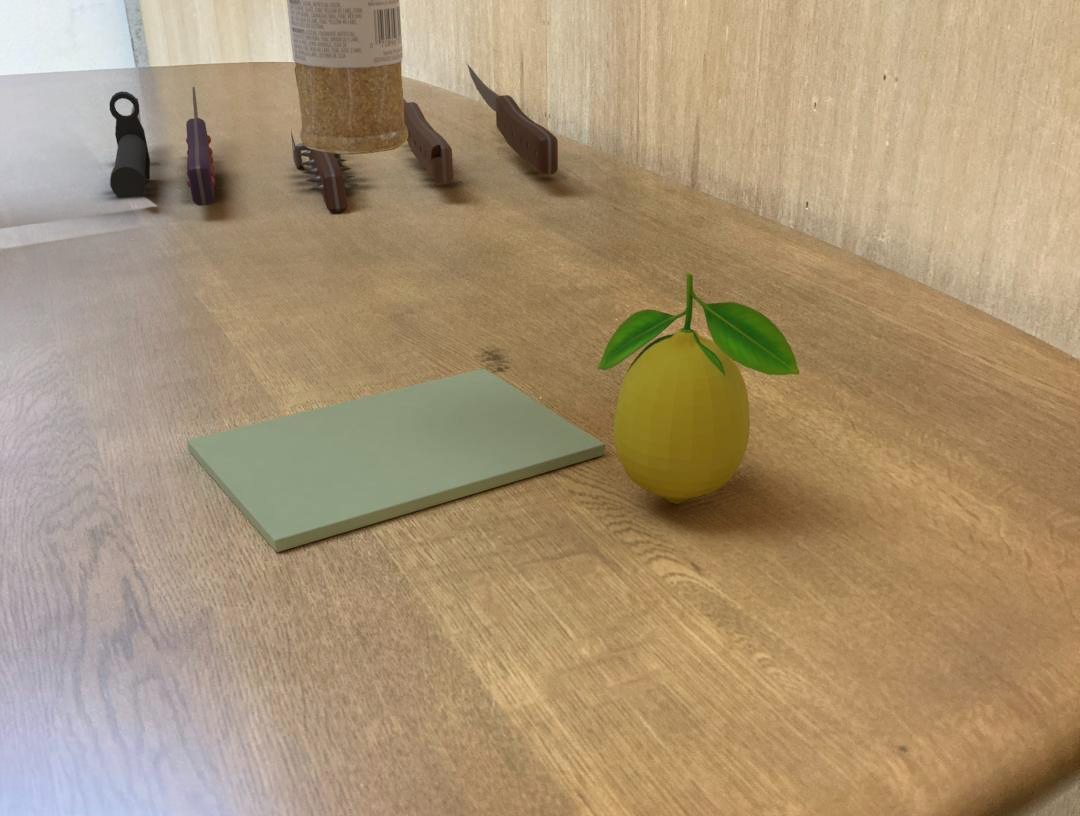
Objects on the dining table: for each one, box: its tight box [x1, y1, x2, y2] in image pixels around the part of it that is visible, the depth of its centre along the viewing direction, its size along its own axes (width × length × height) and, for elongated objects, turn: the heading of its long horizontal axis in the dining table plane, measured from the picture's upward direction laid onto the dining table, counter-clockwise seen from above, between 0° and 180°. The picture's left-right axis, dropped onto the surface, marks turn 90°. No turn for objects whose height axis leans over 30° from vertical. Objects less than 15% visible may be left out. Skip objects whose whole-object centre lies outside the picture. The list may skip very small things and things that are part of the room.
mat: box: [186, 368, 606, 553], centre depth 53 cm, size 16×11×1 cm
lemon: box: [597, 273, 800, 505], centre depth 46 cm, size 7×6×10 cm
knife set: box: [109, 63, 559, 214], centre depth 101 cm, size 35×33×8 cm
